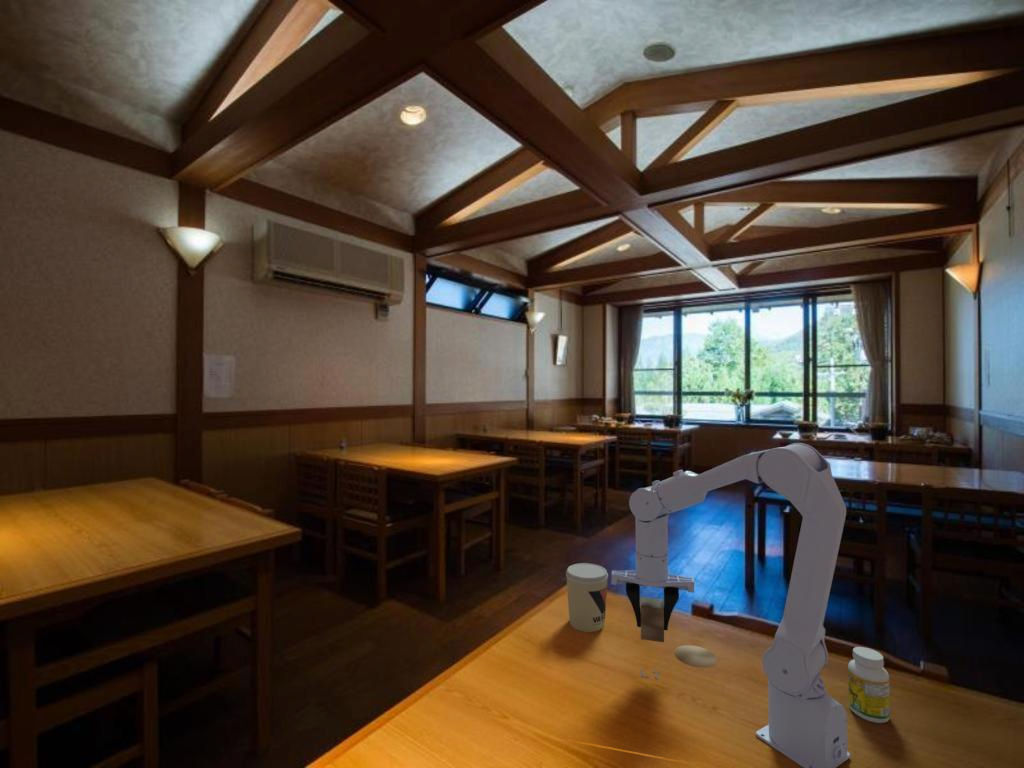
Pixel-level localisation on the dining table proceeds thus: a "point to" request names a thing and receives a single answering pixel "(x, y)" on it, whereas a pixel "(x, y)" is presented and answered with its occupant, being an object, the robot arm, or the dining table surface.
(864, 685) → the supplement bottle
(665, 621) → the robot arm
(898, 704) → the dining table surface
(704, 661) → the cork coaster
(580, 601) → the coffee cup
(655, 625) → the walnut block
